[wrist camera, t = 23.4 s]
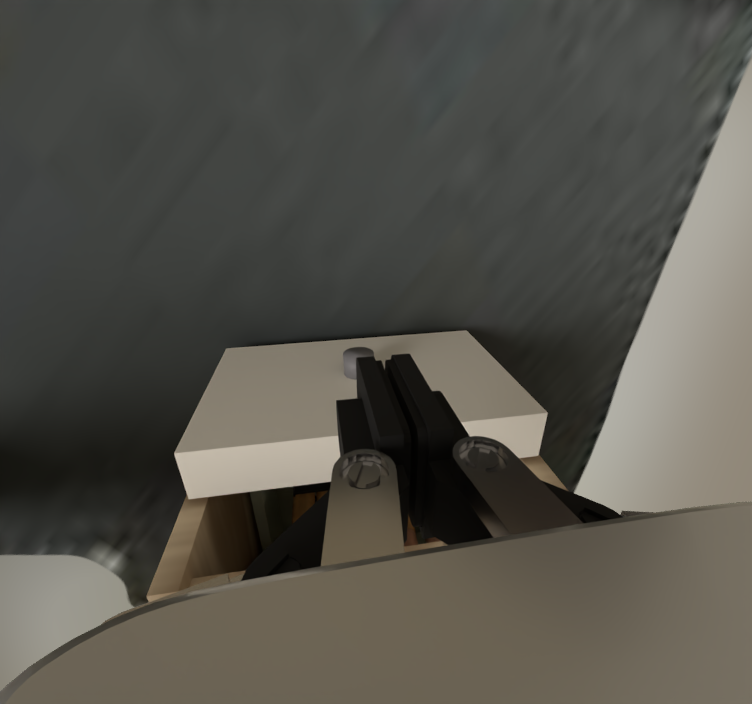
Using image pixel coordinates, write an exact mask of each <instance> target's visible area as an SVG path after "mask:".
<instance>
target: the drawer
mask: <svg viewBox="0 0 752 704" xmlns="http://www.w3.org/2000/svg"><path fill="white" fill-rule="evenodd" d="M396 354H410V355H411V357H412V358H413V360H414V362H415V363H416V365H417V367H418V368H419V370H420V372H421V373H422V375H423V377H424V378H425V380H426V382H427V383H428V385H429V387H430V389H431V390H432V391H441V392H442V393H443V395H444V397H445V398H446V400H447V401H448V403H449V404H450V406H451V408H452V409H453V411H454V412H455V414H456V415H457V417H458V419H459V420H460V422H461V423H462V425H463V426H464V428H465V430H466V431H467V433H468V434H469V436H470V437H471V436H482V437H488V438H491V439H495V440H497V441H499V442H501V443H503V444H504V445H505V446H506V447H508V448H509V449H510V450H511V451H512V452H513V453H514V454H515V455H516V456H517V457H518V458H525V457H533V456H538V455H539V450H540V446H541V441H542V437H543V432H544V428H545V423H546V419H547V414H548V412H547V411H546V410H545V409H544V408H543V407H542V406H541V405H540V404H539V403H538V402H537V401H536V400H535V399H534V398H533V397H532V396H531V395H530V394H529V393H528V392H527V391H526V390H525V389H524V388H523V387H522V386H521V385H520V384H519V383H518V382H517V381H516V380H515V379H514V378H513V377H512V376H511V375H510V374H509V373H508V372H507V371H506V370H505V369H504V368H503V367H502V366H501V365H500V364H499V363H498V362H497V361H496V360H495V359H494V358H493V357H492V356H491V355H490V354H489V353H488V352H487V351H486V350H485V349H484V348H483V347H482V346H481V345H480V344H479V343H478V341H477V340H476V339H475V338H474V337H473V336H472V335H471V334H470V333H469V332H468V331H467V330H465V331H451V332H438V333H425V334H412V335H398V336H385V337H372V338H359V339H345V340H332V341H319V342H306V343H292V344H279V345H266V346H253V347H239V348H226V350H225V352H224V354H223V356H222V358H221V360H220V362H219V364H218V366H217V368H216V370H215V372H214V374H213V376H212V378H211V380H210V382H209V384H208V386H207V388H206V390H205V392H204V394H203V396H202V398H201V400H200V402H199V404H198V406H197V408H196V410H195V412H194V414H193V416H192V418H191V420H190V422H189V424H188V426H187V428H186V430H185V432H184V434H183V436H182V438H181V440H180V442H179V444H178V446H177V448H176V450H175V452H174V455H175V458H176V461H177V465H178V468H179V471H180V474H181V477H182V480H183V483H184V486H185V489H186V493H187V496H188V499H196V498H204V497H212V496H220V495H228V494H236V493H244V492H250V496H251V501H252V505H253V510H254V514H255V519H256V523H257V528H258V532H259V537H260V542H261V546H262V551H264V550H265V549H266V548H267V547H268V546H269V545H270V544H272V543H273V542H274V541H275V540H276V539H277V538H278V537H279V536H280V535H281V534H282V533H283V532H284V531H286V530H287V529H288V528H289V527H290V526H291V525H292V507H293V486H300V485H308V484H316V483H324V482H331V477H332V470H333V467H334V464H335V463H336V461H337V460H338V459H339V458H340V449H339V440H338V428H337V412H336V400H345V399H355V398H357V379H356V358H358V357H371V356H374V357H375V360H376V361H377V360H381V361H382V363H383V366H384V368H385V361H386V360H390V359H391V356H392V355H396ZM315 496H317V495H316V492H315ZM414 528H415V532H416V538H417V541H418V544H425V543H426V541H425V539H423V537H422V534H421V531H420V528H419V526H416V527H414Z"/></svg>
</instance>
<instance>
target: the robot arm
mask: <svg viewBox="0 0 752 704" xmlns="http://www.w3.org/2000/svg"><path fill="white" fill-rule="evenodd" d="M356 379H357V398H355V399H345V400H336V412H337V428H338V440H339V449H340V458H339V459H338V460H337V461H336V463H335V464H334V467H333V470H332V477H331V485H330V490H329V491H327V492H326V493H325V494H324V495H323V496H322V497H321V498H320V499H319V500H318V501H317V502H316V503H315V504H313V505H312V506H311V507H310V508H309V509H308V510H307V511H306V512H305V513H304V514H303V515H302V516H301V517H300V518H298V519H297V520H296V521H295V522H294V523H293V524H292V525H291V526H290V527H289V528H288V529H287V530H286V531H284V532H283V533H282V534H281V535H280V536H279V537H278V538H277V539H276V540H275V541H274V542H273V543H272V544H270V545H269V546H268V547H267V548H266V549H265V550H264V551H263V552H262V553H261V554H260V555H259V556H258V557H256V558H255V559H254V561H253V562H252V563H251V564H250V565H249V567H248V568H247V569H246V571H245V573H244V574H241V575H239V576H236V577H233V578H231V579H229V576H228V573H227V574H225V575H222V576H219V577H216V578H214V579H211V580H208V581H206V582H203V583H200V584H197V585H195V586H192V587H189V588H187V589H184V590H181V591H178V592H176V593H173V594H170V595H168V596H165V597H162V598H159V599H157V600H154V601H151V602H148V603H146V604H143V605H140V606H138V607H135V608H132V609H129V610H127V611H124V612H121V613H120V614H118V615H116V616H114V617H112V618H110V619H108V620H106V621H105V622H104V623H103V624H101V625H100V626H98V627H96V628H94V629H92V630H90V631H88V632H86V633H84V634H82V635H80V636H78V637H76V638H74V639H72V640H71V641H69V642H67V643H66V644H64V645H62V646H61V647H59V648H57V649H56V650H54V651H52V652H51V653H49V654H48V655H46V656H45V657H44V658H42V659H40V660H39V661H37V662H36V663H34V664H33V665H31V666H30V667H29V668H27V669H26V670H25V671H24V672H22V673H21V674H20V675H19V676H18V677H16V678H15V679H14V680H12V681H11V682H10V683H9V684H7V685H6V686H5V687H4V688H3V689H2V690H1V691H0V704H752V502H737V503H728V504H720V505H712V506H711V505H710V506H701V507H693V508H685V509H678V510H671V511H664V512H656V513H653V512H634V511H622V513H621V515H619V514H618V513H617V512H615V511H614V510H612V509H610V508H608V507H606V506H604V505H601V504H599V503H596V502H594V501H591V500H589V499H586V498H584V497H582V496H579V495H577V494H574V493H572V492H569V491H567V490H564V489H562V488H559V487H557V486H554V485H552V484H549V483H547V482H544V481H542V480H540V479H539V478H538V477H537V476H536V475H535V474H534V473H533V472H532V471H531V470H530V469H529V468H528V467H527V466H526V465H525V464H524V463H523V462H522V461H521V460H520V459H519V458H518V457H517V456H516V455H515V454H514V453H513V452H512V451H511V450H510V449H509V448H508V447H506V446H505V445H504V444H503V443H501V442H499V441H497V440H495V439H491V438H488V437H482V436H471V437H470V436H469V434H468V433H467V431H466V430H465V428H464V426H463V425H462V423H461V422H460V420H459V419H458V417H457V415H456V414H455V412H454V411H453V409H452V408H451V406H450V404H449V403H448V401H447V400H446V398H445V397H444V395H443V393H442V392H441V391H432V390H431V389H430V387H429V385H428V383H427V382H426V380H425V378H424V377H423V375H422V373H421V372H420V370H419V368H418V367H417V365H416V363H415V362H414V360H413V358H412V357H411V355H410V354H396V355H392V356H391V359H390V360H386V361H385V368H384V366H383V363H382V361H381V360H377V361H376V360H375V357H374V356H371V357H358V358H356ZM408 515H409V518H410V521H411V524H412V526H413V527H416V526H419V528H420V531H421V534H422V537H423V539H428V538H437V539H439V540H440V541H442V542H443V546H440V547H434V548H428V549H422V550H416V551H410V552H405V551H404V543H405V542H406V540H407V528H408Z"/></svg>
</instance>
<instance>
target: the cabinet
mask: <svg viewBox="0 0 752 704" xmlns="http://www.w3.org/2000/svg"><path fill="white" fill-rule="evenodd" d="M519 459H520V460H521V461H522V462H523V463H524V464H525V465H526V466H527V467H528V468H529V469H530V470H531V471H532V472H533V473H534V474H535V475H536V476H537V477H538V478H539V479H540V480H542V481H544V482H547V483H549V484H552V485H554V486H557V487H559V488H562V489H564V490H567V489H566V487H565V486H564V485H563V484H562V483H561V481H560V480H559V479H558V478H557V476H556V475H555V474H554V473H553V471H552V470H551V469H550V468H549V466H548V465H547V464H546V463H545V461H544V460H543V459H542V458H541V457H540V455H538V456H533V457H525V458H519ZM567 491H568V490H567ZM440 546H443V542H442V541H438V542H431V543H425V544H418V545H412V546H405V547H404V551H405V552H410V551H416V550H422V549H428V548H434V547H440ZM262 552H263V551H262V546H261V542H260V537H259V532H258V528H257V523H256V519H255V514H254V510H253V505H252V501H251V496H250V492H244V493H236V494H228V495H220V496H212V497H204V498H196V499H188V496H187V495H186V498H185V500H184V503H183V505H182V508H181V510H180V513H179V515H178V518H177V520H176V523H175V525H174V528H173V531H172V533H171V536H170V538H169V541H168V543H167V546H166V548H165V551H164V553H163V556H162V558H161V561H160V563H159V566H158V569H157V571H156V574H155V576H154V579H153V581H152V584H151V586H150V589H149V591H148V594H147V598H148V601H149V602H151V601H154V600H157V599H159V598H162V597H165V596H168V595H170V594H173V593H176V592H178V591H181V590H184V589H187V588H189V587H192V586H195V585H197V584H200V583H203V582H206V581H208V580H211V579H214V578H216V577H219V576H222V575H225V574H227V573H228V576H229V579H231V578H233V577H236V576H239V575H241V574H244V573H245V571H246V569H247V568H248V567H249V565H250V564H251V563H252V562H253V561H254V559H255V558H256V557H258V556H259V555H260V554H261V553H262Z"/></svg>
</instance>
